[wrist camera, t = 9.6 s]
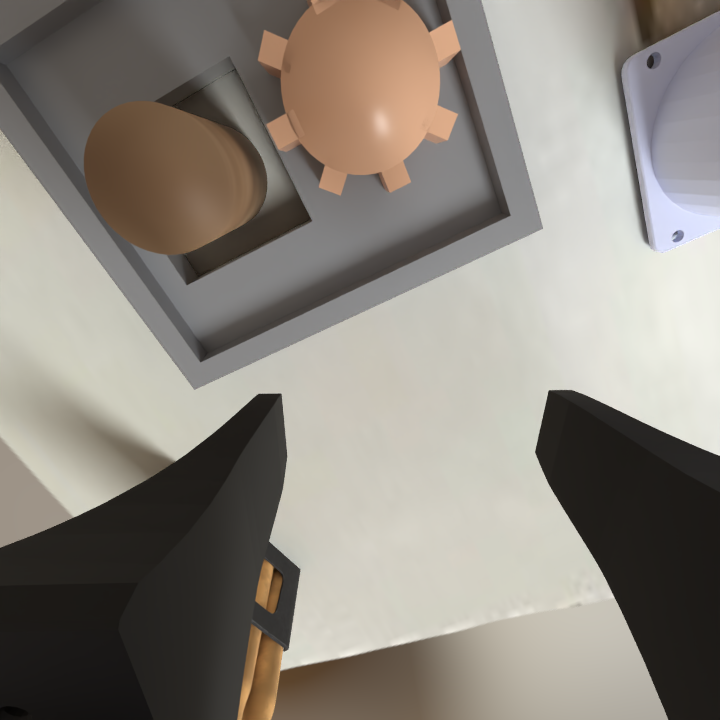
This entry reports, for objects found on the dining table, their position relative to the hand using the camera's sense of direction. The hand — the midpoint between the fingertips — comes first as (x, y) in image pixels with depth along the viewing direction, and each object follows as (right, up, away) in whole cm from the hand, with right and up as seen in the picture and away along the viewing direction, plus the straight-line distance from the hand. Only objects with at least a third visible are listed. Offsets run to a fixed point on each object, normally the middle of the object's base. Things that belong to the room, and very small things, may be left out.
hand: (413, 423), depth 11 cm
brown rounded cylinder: (-7, +9, +6) cm, 13 cm away
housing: (-5, +10, +5) cm, 13 cm away
